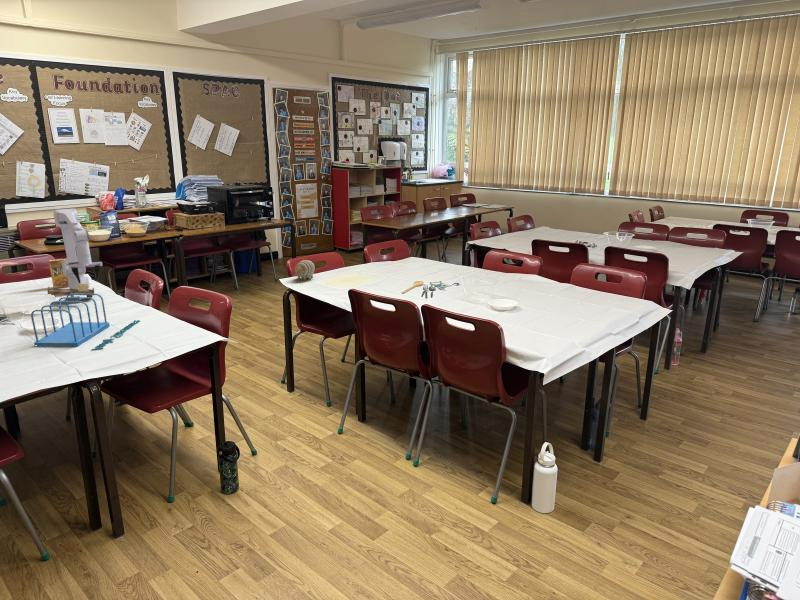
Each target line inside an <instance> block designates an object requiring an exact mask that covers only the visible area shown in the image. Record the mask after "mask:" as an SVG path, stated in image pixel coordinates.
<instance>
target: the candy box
mask: <svg viewBox="0 0 800 600" xmlns="http://www.w3.org/2000/svg"><path fill="white" fill-rule="evenodd" d="M65 259H66V258H58V259H57V258H56V259H49V261H48V263H49V270H50V274H51V275H50V276H51V282H52V289H62V288H69V284H68V278H67V276H65V275H64V273H63V270H62V262H63V261H64V260H65ZM67 264H70V263H67Z"/></svg>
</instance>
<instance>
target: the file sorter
mask: <svg viewBox="0 0 800 600" xmlns="http://www.w3.org/2000/svg"><path fill="white" fill-rule="evenodd" d="M70 295H74V297H70ZM87 295H92V296H98V297H99V298H100V300H101V306H102V312H103V316H104V322H103V321H101V322H100V320H99V319H100V318H99V311H98V308H97V307H98V306H97V302H96V300H94V299H95V298H93V297H92V298H90V297H87ZM77 296H80V297H77ZM83 296H84V297H83ZM85 296H86V297H85ZM63 299H64V300H63ZM68 299H80V301H68ZM81 299H83V300H91V301H92V302H93V304H94V309H95V315H96V321H95V322H94V321H93V322H92V321H91V313H90V309H89V305H88V304H87V303H86V302H84V301H82V300H81ZM56 303H57V304H56ZM63 303H65V304H63ZM66 303H67V305H66ZM68 303H76V304H80V303H81V304H83V305H85V307H86V312H87V316H88V317H87V319H88V321H87V322H86V321H85V322H84V321H83V318H82V312H81V309H80V308H79V307H78V306H76V305H74V304H68ZM53 304H55V305H53ZM61 304H62V305H61ZM47 307H48V308H49V309H44V308H47ZM56 307H57V308H58V309H53V308H56ZM40 308H41V309H35V310H32V312H31V313H30V316H31V317H30V319H31V323H32V326H33V328H32V329H33V331H34V336H35V341H34V342H33V345H34V346H35V345H37V346H36V347H79V346H81V345H82V344H83V343H85V342H87V341H88V340H89V339H91V338H92V337H95V336H96V335H98V334H99V333H101V332H102V331H104V330H106V329H107V328H108V327H110V322H108V321H107V316H106V315H107V314H106V309H105V308H106V307H105V303H104V298H103V297H102V295H101V294H99V293H94V294H69V295H66V296H64V297H61V298H59V299H58V300H57V301H52V302H50V303H49V304H47V305H43V306H42V307H40ZM62 308H67V310H66V309H62ZM70 308H75V309H76V310H78V313H79V314H78V315H79V316H78V317H79V320H80V321H78V322H76V321H75V322H74V320H73V315H72V313H71V312H70V311H71V309H70ZM35 312H40V314H41V315H40V316H41V320H42V325H43V331H44V335H45V336H43V337H42V338H39V337H38V332H37V328H36V324H35V319H34V313H35ZM44 312H50V318H51V323H52V326H53V327H52V328H53V331H52V332H49V333H48V332H47V327H46V323H45V318H44ZM53 312H59V317H60V321H61V325H62V326H61V327H60V328H57V329H56V326H55V319H54V314H53ZM63 312H65V313H67V314H68V317H69V323H67V324H65V323H64V318H63V315H62V313H63Z"/></svg>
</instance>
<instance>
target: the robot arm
mask: <svg viewBox="0 0 800 600" xmlns="http://www.w3.org/2000/svg"><path fill="white" fill-rule="evenodd" d="M78 218H79V217H78V211H77V210H76V209H75V207H74V208H67V209H66V208H63V209H54V210H53V219H54V223H55V226H57V227H59V228H60V230H61V231H60V232H61V235H62V240H63V244H64V249H65V250H64V251H65V254H66V258H64V259H65V260H64V261H63V262H62V270H63V273H64V275H65V276H67V278H68V284H69V287H68V289H78V284H88V289H89V290H92V288H90V281H89V280H90V279H89V277H88V275H87V274H85V273H86V272H87V271H86V268H92V267H93V268H94V273H95V281H96V282H99V272H100V269H101V267H103V262H102V261H95V262H94V261H93V262H92V256H91V252H90V244H89V242H90V234H89V231H88V230H87V229H84V227H83V226H82V224H81V223H80V222H79V221H78ZM67 263H69V264H67Z"/></svg>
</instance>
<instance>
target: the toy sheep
mask: <svg viewBox="0 0 800 600" xmlns="http://www.w3.org/2000/svg"><path fill="white" fill-rule="evenodd" d="M315 267H316V266H315V263H313V261H311V260H307V259H305V260H304V259H302V260H301V261H299V262H298V263H296V266H295V269H294V270H295V273H296V275H297V281H300V278H302V279H303V281H307V279H309V278H311V279H313V278H314V273H315V270H316V268H315Z"/></svg>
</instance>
